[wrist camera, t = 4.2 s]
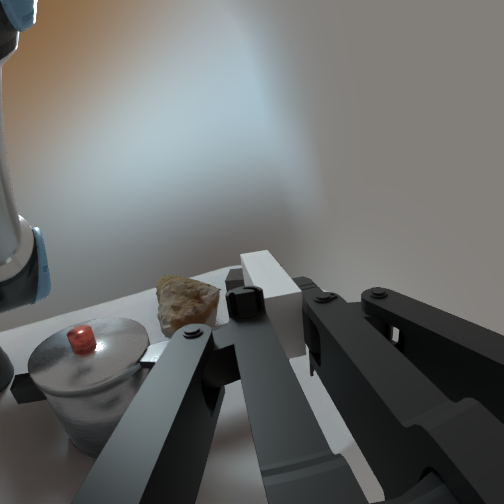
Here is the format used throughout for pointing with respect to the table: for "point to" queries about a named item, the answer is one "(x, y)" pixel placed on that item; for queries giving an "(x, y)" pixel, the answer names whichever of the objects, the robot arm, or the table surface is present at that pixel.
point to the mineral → (185, 303)
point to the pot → (87, 408)
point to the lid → (97, 354)
